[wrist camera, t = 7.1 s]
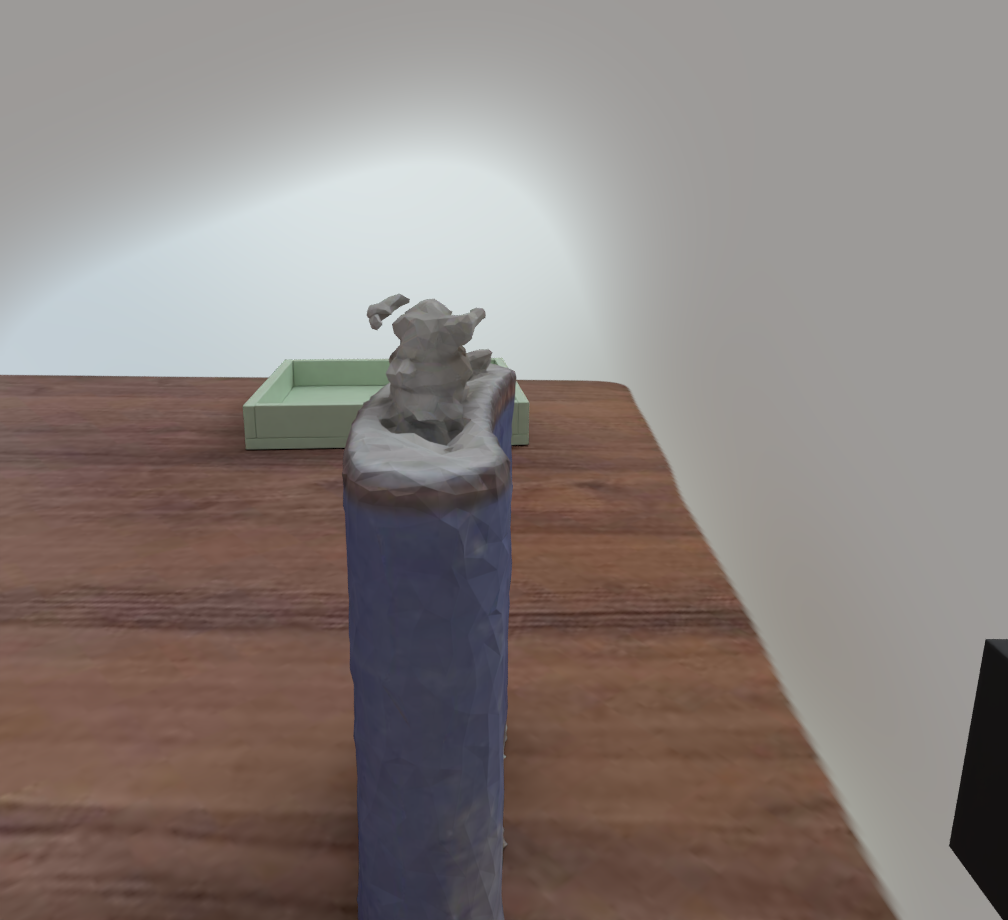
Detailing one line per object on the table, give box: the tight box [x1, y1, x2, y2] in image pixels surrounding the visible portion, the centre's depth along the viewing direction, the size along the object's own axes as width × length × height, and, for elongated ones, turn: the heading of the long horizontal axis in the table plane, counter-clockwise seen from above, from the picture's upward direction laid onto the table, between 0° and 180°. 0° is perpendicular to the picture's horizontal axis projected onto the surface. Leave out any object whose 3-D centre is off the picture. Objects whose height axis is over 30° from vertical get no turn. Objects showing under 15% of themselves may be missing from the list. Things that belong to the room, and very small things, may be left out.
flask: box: [342, 294, 516, 920], centre depth 16 cm, size 9×3×11 cm, turn 179°
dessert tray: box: [243, 358, 529, 450], centre depth 54 cm, size 15×15×2 cm
